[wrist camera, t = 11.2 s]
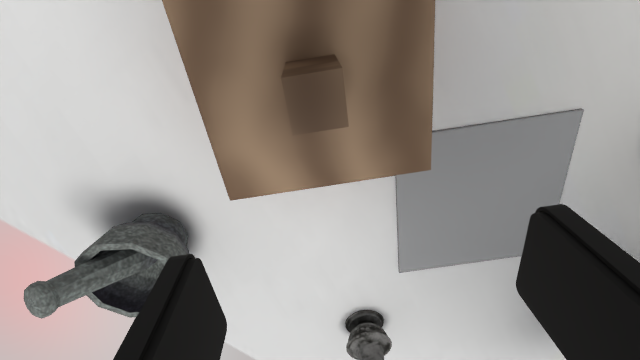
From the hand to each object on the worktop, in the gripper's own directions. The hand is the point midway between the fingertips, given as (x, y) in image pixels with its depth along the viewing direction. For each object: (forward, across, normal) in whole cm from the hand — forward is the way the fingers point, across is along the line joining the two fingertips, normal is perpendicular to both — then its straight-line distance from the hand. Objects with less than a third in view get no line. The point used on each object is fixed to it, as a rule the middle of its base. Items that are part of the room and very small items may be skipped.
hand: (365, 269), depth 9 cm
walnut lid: (+16, +1, -2) cm, 16 cm away
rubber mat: (+22, -15, +15) cm, 31 cm away
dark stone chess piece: (+23, -1, +33) cm, 40 cm away
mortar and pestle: (+22, +21, +13) cm, 33 cm away
